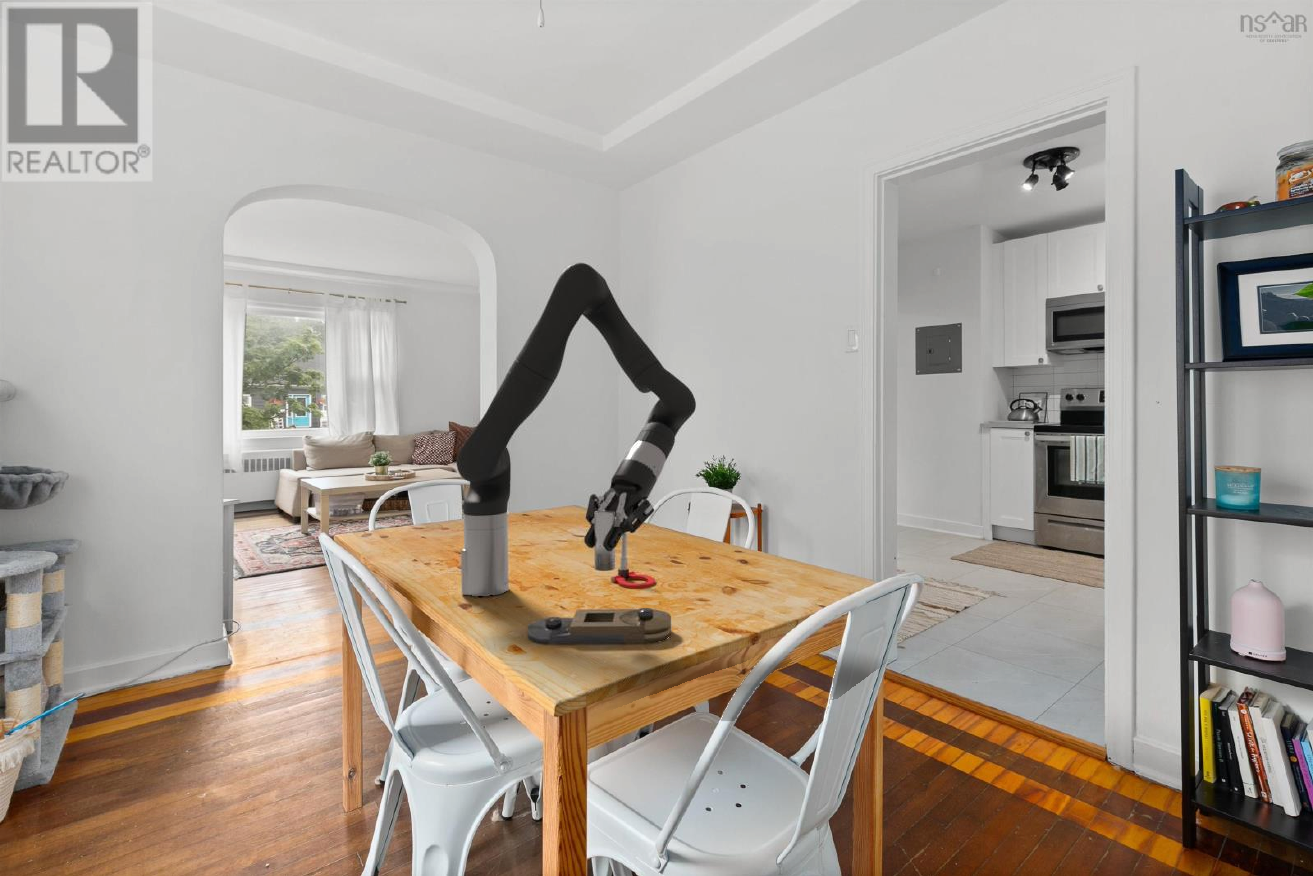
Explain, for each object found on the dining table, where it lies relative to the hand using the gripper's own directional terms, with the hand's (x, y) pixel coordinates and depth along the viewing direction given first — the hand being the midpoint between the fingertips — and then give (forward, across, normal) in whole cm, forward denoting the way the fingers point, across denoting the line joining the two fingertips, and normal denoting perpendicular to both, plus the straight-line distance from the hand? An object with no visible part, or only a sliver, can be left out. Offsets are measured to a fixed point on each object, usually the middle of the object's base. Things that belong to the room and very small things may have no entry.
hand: (597, 546), depth 108 cm
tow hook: (-10, -15, +33) cm, 38 cm away
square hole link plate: (+11, 0, +12) cm, 16 cm away
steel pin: (+2, 0, +4) cm, 5 cm away
